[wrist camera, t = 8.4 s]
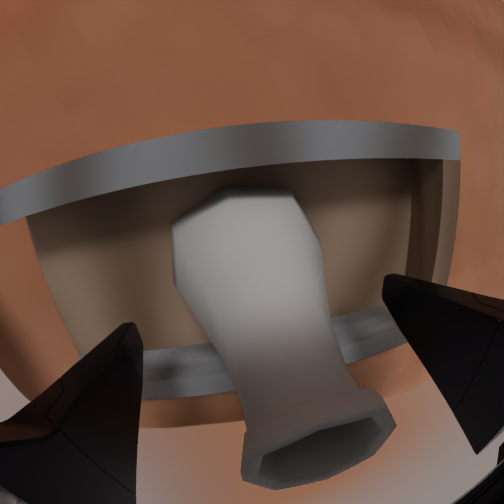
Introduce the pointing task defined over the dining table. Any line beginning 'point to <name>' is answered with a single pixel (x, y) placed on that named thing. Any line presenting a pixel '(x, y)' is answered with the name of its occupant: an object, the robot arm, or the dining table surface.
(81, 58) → the dining table surface
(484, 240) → the dining table surface
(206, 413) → the dining table surface
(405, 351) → the dining table surface
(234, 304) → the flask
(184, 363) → the grey rectangular tray
